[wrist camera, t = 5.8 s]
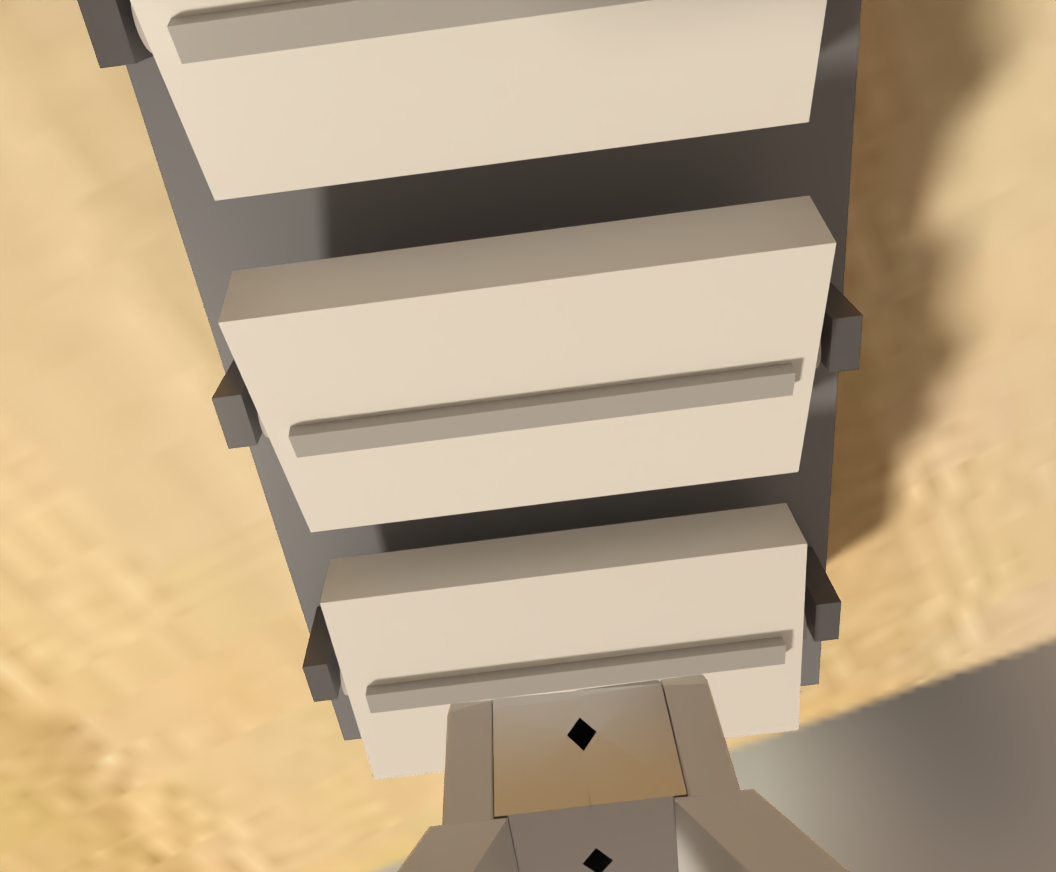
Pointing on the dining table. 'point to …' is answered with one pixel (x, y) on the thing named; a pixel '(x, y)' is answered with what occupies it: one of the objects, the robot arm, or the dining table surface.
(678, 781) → the robot arm
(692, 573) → the grooved switch paddle
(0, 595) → the dining table surface
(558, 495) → the rocker
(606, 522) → the switch unit
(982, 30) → the dining table surface
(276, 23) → the panel
